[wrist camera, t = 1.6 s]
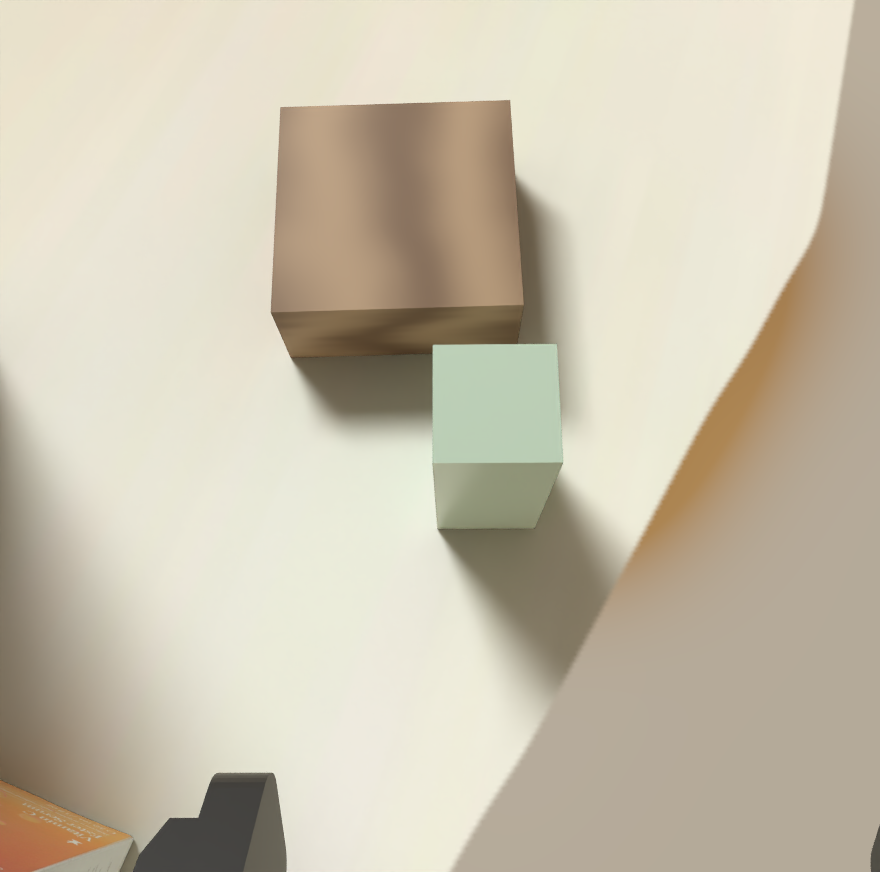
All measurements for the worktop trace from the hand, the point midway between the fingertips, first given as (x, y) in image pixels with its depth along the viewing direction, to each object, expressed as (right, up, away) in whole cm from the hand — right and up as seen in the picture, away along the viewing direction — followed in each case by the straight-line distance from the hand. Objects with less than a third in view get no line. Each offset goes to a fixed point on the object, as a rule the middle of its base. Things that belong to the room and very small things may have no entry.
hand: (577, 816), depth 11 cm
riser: (-4, +14, +31) cm, 34 cm away
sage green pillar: (0, +3, +27) cm, 27 cm away
